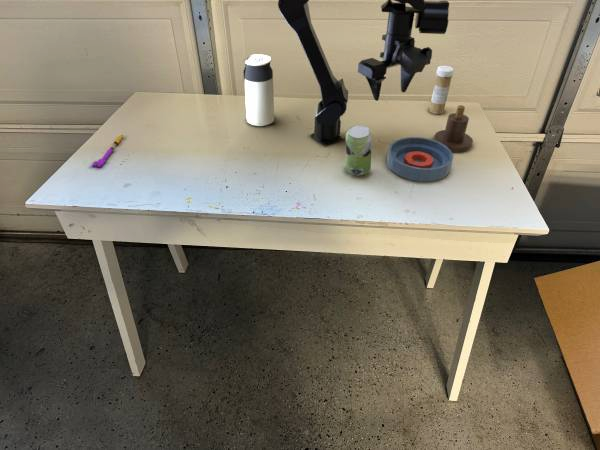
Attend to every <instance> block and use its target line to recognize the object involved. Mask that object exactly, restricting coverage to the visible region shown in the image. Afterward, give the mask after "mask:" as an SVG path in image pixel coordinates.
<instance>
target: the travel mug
mask: <svg viewBox="0 0 600 450" xmlns="http://www.w3.org/2000/svg"><path fill="white" fill-rule="evenodd" d="M271 62H272V58H271V56H269V55H266V54H259V53H257V54H250V55H247V56H245V57H243V63H244V66H245V67H244V69H243V84H244V86H243V87H244V97H245V110H246V122H247V123H248V124H250V125H252V126H255V127H264V126H268V125H269V126H270V124H273V123H274V121H275V104H274V103H275V102H274V75H273V74H274V72H273V68H272V67H271Z"/></svg>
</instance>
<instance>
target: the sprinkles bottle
mask: <svg viewBox="0 0 600 450" xmlns="http://www.w3.org/2000/svg"><path fill="white" fill-rule="evenodd" d="M454 70H455V69H454V67H452V66H449V65H439V66H437V69H436V77H435V81H434V85H433V89H432V90H433V91H432V95H431V100H430V107H429V109H428V110H429V112H430V113H431V114H434V115H442V114H444V113H445V108H446V104H447V100H448V96H449V91H450V87H451V82H452V78H453V75H454Z"/></svg>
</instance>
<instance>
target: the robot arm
mask: <svg viewBox="0 0 600 450" xmlns="http://www.w3.org/2000/svg"><path fill="white" fill-rule="evenodd" d="M309 1H310V0H278V2H277V8H278V11H279V12H280V14H281V15H282V17H283V19H284V20H285V22H286V24H288V26H289V27H290V28H291V29H292V30H293V31H294V32H295V34H296V36H297V38H298V40H299V42H300V45H301V47H302V49H303V51H304V54H305V56H306V58H307V61H308V63H309V65H310V67H311V70H312V72H313V74H314V76H315V79H316V81H317V84H318V85H319V91H320V97H321V100H320V101H319V102H318V103H317V108H316V113H315V117H314V127H313V128H314V131H313V133H311V134H310V137H311V138H313V140H315V141H317V142H318V143H319V144H321V145H322V146H326V145H329V144H333V143H336V142H339V141H342V140H343V136H341V126H342V121H341V117H342V116H343V115H344V114H345V113H346V111H347V107H348V106H347V105H348V102H349V90H348V88H346V85H345V82H344V78H341V79H339V80H338V79H337V78H336V77H335V76H334V74H333V72H332V69H331V67H330V64H329V61H328V59H327V57H326V55H325V52H324V50H323V47H322V45H321V42H320V40H319V38H318V36H317V33H316V31H315V28H314V26H313V24H312V19H311V12H310V7H309ZM393 1H394V2H393ZM406 4H408V5H410V6H407V5H406ZM380 7H381V8H380V10H381V12H382V13H388V16H387V25H386V33H385V34H382V35H381V40H382V41H384V49H383V51H382V52H380V53H379V58H381V59H382V60H381V61H380V60H378V59H377V58H374V57H370V58H365V59H362V60H360V61H359V62H358V65H357V73H359V74H361V75H362V76H364V77H365V79H366V81H367V83H368V86H369V88H370V91H371V95H372V97H373V99H374V101H376V102H378V101H379V100H380V95H381V89H382V83H383V82H384V81H385V80H386V79H387V76H385V75H386V74H387V71H388V70H387V69H390V68H393V67H397V66H400V91H401V92H402V93H404V94H405V93H406V92H407V90H408V88H409V86H410V84H411V82H412V81H413V79H414V77H415V75H416V74H418V73H423V71H424V69H425V67H426V66H428V65H430V64H431V60H432V59H433V49H432V48H431V47H429V46H427V47H423V48H420V47H417V46H415V44H416V43H415V42H416V40H415V37H413V36H412V31H413V25H414V28H415V29H418V33H419V34H429V35H430V34H432V35H445V34H446V32H447V29H448V26H449V13H450V11H449V8H450V2H449V0H439V1H436V0H434V1H433V0H386V1H385V2H384V3H382V4H381V5H380ZM415 14H416V15H415ZM414 18H415V21H414Z"/></svg>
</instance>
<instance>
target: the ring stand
mask: <svg viewBox="0 0 600 450" xmlns="http://www.w3.org/2000/svg"><path fill="white" fill-rule="evenodd" d="M465 108H466V106H464V105H461V104H460V105H457V108H456V111H455V112H453V113H450V114H448V116H447V119H446V125H445V128H444V129H441V130H439V131H436V133H435V134H434V136H433V140H435V141H438V142H440V143H442V144H444V145H445V146H447V147H448V148H449V149H450V150H451V152H452V153H455V154H457V153H466V152H469V150H470V149H471V148H472V145H473V142H474V141H473V138H472V137H471V136H470V135H469V134H468V133H466V132H467V128H468V124H469V121H470V118H469V116H468V115H466V114H464V113H465Z"/></svg>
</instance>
